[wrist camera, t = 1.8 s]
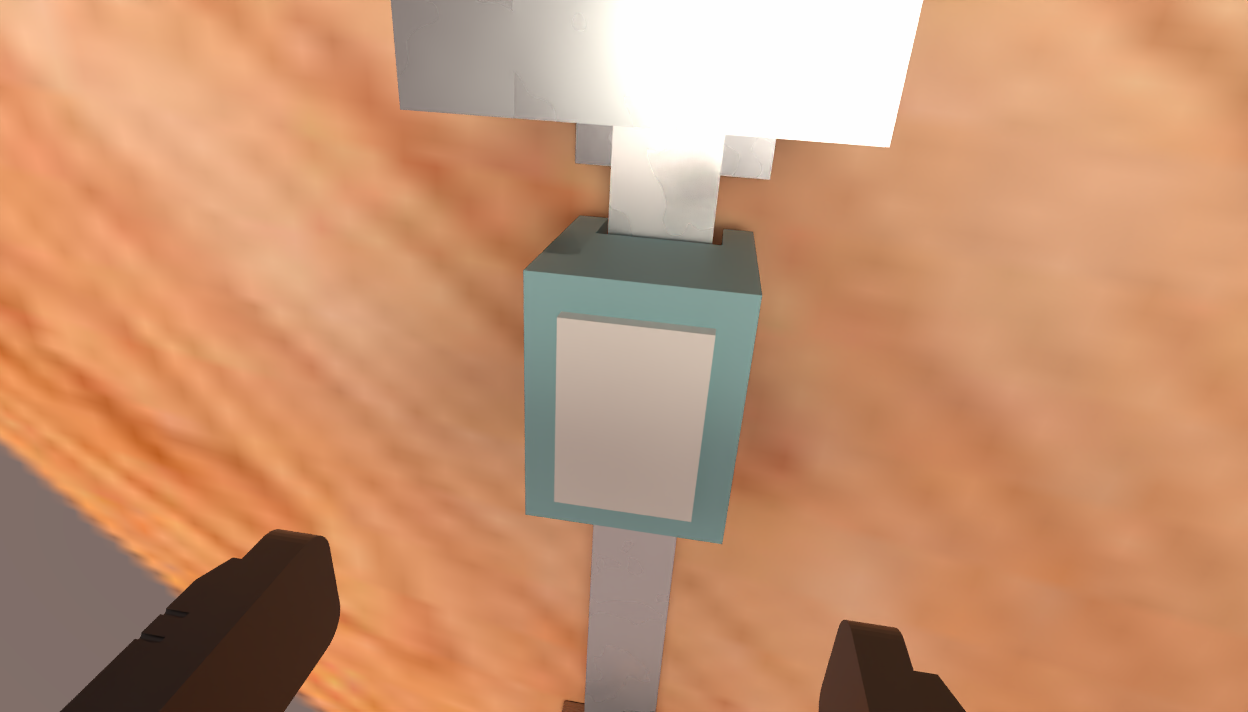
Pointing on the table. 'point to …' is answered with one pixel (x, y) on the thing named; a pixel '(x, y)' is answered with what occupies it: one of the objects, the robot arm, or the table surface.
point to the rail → (624, 559)
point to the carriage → (637, 378)
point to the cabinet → (663, 63)
